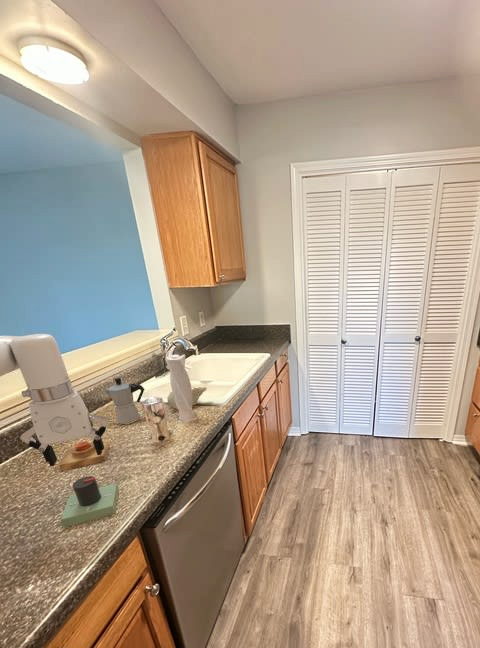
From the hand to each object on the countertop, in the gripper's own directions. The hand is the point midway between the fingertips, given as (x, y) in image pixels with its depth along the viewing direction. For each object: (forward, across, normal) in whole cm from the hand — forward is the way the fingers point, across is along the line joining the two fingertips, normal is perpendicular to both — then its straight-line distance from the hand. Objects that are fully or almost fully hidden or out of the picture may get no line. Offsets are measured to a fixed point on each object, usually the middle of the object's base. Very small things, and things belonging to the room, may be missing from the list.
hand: (77, 457), depth 78 cm
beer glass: (+15, +17, +30) cm, 38 cm away
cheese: (+15, +29, +58) cm, 67 cm away
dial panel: (+15, 0, 0) cm, 15 cm away
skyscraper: (+15, +27, +43) cm, 53 cm away
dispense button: (+11, -6, +28) cm, 31 cm away
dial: (+12, 0, -1) cm, 12 cm away
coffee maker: (+15, +6, +54) cm, 57 cm away
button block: (+14, -6, +28) cm, 33 cm away
